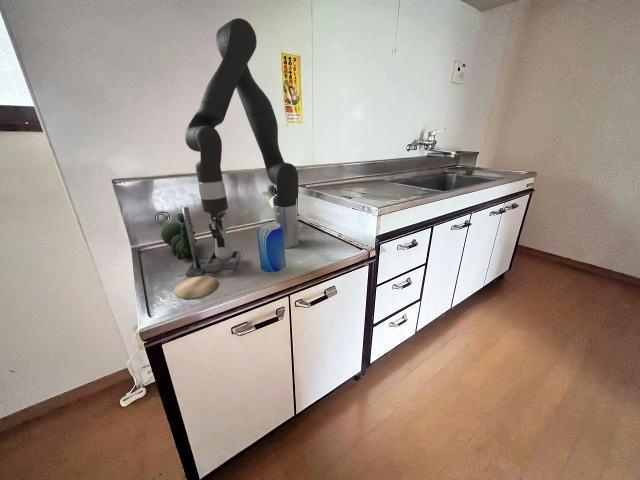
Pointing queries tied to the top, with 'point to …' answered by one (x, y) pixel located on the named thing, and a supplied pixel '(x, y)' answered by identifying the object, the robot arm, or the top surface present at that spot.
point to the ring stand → (206, 264)
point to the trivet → (195, 287)
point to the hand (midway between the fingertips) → (222, 245)
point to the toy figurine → (177, 237)
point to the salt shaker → (222, 252)
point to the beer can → (271, 248)
